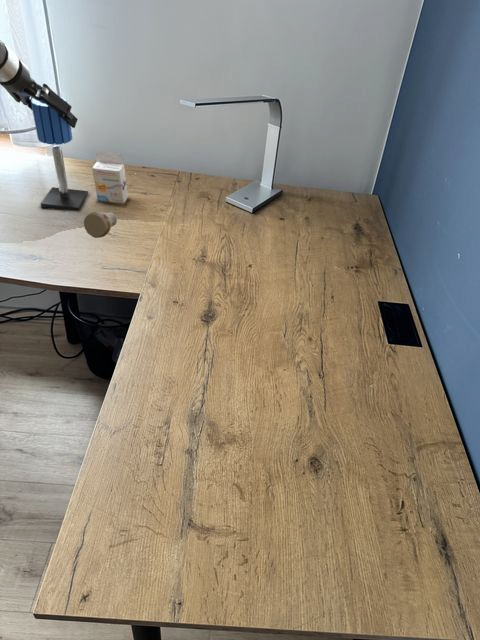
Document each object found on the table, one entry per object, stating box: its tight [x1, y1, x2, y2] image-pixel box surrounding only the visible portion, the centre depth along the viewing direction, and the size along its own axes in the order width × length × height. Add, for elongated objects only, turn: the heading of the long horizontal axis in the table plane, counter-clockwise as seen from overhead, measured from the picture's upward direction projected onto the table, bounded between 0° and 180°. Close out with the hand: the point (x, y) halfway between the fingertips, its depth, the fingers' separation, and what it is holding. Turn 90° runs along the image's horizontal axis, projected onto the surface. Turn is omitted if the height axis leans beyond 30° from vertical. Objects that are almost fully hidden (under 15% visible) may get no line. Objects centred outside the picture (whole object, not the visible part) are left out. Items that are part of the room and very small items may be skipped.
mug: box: [83, 211, 118, 239], centre depth 143 cm, size 8×10×10 cm
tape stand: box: [40, 144, 89, 211], centre depth 149 cm, size 11×11×17 cm
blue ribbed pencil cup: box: [30, 96, 73, 146], centre depth 138 cm, size 9×9×10 cm
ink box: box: [91, 151, 129, 204], centre depth 153 cm, size 8×5×15 cm, turn 84°
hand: (59, 119), depth 141 cm, fingers closed on blue ribbed pencil cup, 9 cm apart
